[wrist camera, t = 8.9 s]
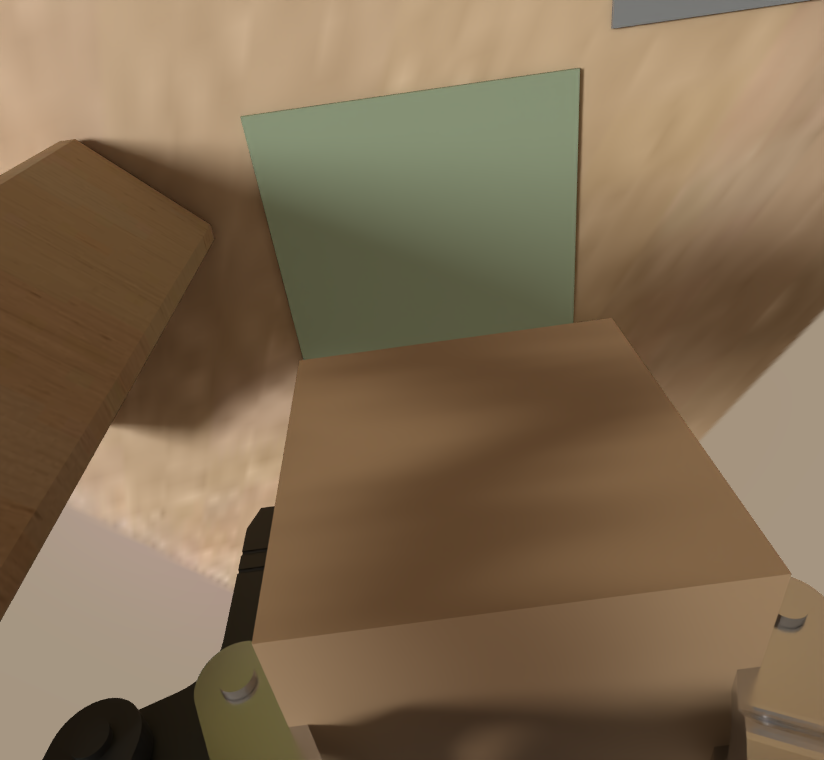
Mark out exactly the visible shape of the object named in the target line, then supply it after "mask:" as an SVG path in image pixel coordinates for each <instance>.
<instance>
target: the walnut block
mask: <svg viewBox="0 0 824 760" xmlns="http://www.w3.org/2000/svg"><path fill="white" fill-rule="evenodd" d="M790 577H791V573H790V571H789V569H788V568H787V567H786V565H785V564H784V562H783V561H782V559H781V558H780V557H779V555H778V554H777V552H776V551H775V550H774V548H773V547H772V545H771V544H770V542H769V541H768V540H767V538H766V537H765V535H764V534H763V532H762V531H761V530H760V528H759V527H758V525H757V524H756V523H755V521H754V520H753V518H752V517H751V515H750V514H749V512H748V511H747V510H746V508H745V507H744V505H743V504H742V503H741V501H740V500H739V498H738V497H737V495H736V494H735V493H734V491H733V490H732V488H731V487H730V486H729V484H728V483H727V481H726V480H725V478H724V477H723V476H722V474H721V473H720V471H719V470H718V468H717V467H716V466H715V464H714V463H713V461H712V460H711V458H710V457H709V456H708V454H707V453H706V451H705V450H704V448H703V447H702V446H701V444H700V443H699V441H698V440H697V438H696V437H695V436H694V434H693V433H692V431H691V430H690V429H689V427H688V426H687V424H686V423H685V421H684V420H683V419H682V417H681V416H680V414H679V413H678V411H677V410H676V409H675V407H674V406H673V404H672V403H671V401H670V400H669V399H668V397H667V396H666V394H665V393H664V392H663V390H662V389H661V387H660V386H659V384H658V383H657V382H656V380H655V379H654V377H653V376H652V374H651V373H650V372H649V370H648V369H647V367H646V366H645V364H644V363H643V362H642V360H641V359H640V357H639V356H638V355H637V353H636V352H635V350H634V349H633V347H632V346H631V345H630V343H629V342H628V340H627V339H626V337H625V336H624V335H623V333H622V332H621V330H620V329H619V327H618V326H617V325H616V323H615V322H614V320H613V319H612V318H606V319H599V320H592V321H584V322H577V323H570V324H562V325H555V326H548V327H541V328H533V329H526V330H519V331H511V332H504V333H497V334H489V335H482V336H475V337H467V338H460V339H453V340H446V341H438V342H431V343H424V344H416V345H409V346H402V347H394V348H387V349H380V350H372V351H365V352H358V353H351V354H343V355H336V356H329V357H321V358H314V359H307V360H299V365H298V371H297V377H296V383H295V389H294V395H293V401H292V407H291V412H290V418H289V424H288V430H287V436H286V442H285V448H284V454H283V460H282V466H281V472H280V478H279V484H278V490H277V496H276V502H275V508H274V514H273V520H272V526H271V532H270V538H269V544H268V550H267V556H266V562H265V568H264V574H263V580H262V585H261V591H260V597H259V603H258V609H257V615H256V621H255V627H254V633H253V639H252V646H253V648H254V650H255V653H256V655H257V657H258V659H259V662H260V664H261V666H262V668H263V671H264V673H265V675H266V677H267V680H268V682H269V684H270V686H271V688H272V691H273V693H274V695H275V697H276V700H277V702H278V704H279V706H280V709H281V711H282V713H283V715H284V718H285V720H286V722H287V724H288V727H293V726H300V725H308V727H309V729H310V732H311V734H312V737H313V739H314V741H315V744H316V746H317V749H318V751H319V753H320V756H321V758H322V760H710V759H711V756H712V752H713V749H714V747H716V746H724V745H730V739H731V723H732V711H731V689H732V685H733V682H734V678H735V675H736V672H737V670H738V669H745V668H753V667H761V664H762V661H763V658H764V655H765V652H766V649H767V646H768V643H769V640H770V637H771V634H772V631H773V628H774V625H775V622H776V619H777V616H778V613H779V610H780V607H781V604H782V601H783V598H784V595H785V592H786V589H787V586H788V583H789V580H790Z"/></svg>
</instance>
